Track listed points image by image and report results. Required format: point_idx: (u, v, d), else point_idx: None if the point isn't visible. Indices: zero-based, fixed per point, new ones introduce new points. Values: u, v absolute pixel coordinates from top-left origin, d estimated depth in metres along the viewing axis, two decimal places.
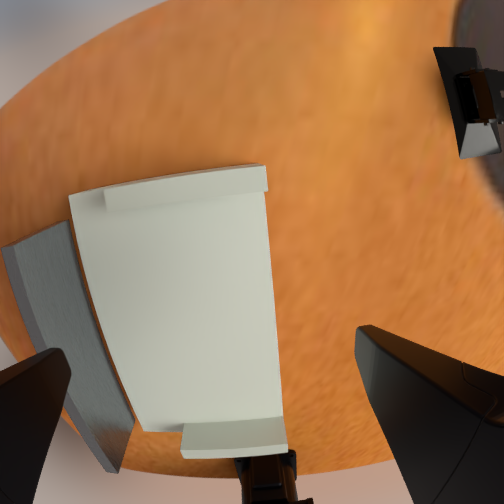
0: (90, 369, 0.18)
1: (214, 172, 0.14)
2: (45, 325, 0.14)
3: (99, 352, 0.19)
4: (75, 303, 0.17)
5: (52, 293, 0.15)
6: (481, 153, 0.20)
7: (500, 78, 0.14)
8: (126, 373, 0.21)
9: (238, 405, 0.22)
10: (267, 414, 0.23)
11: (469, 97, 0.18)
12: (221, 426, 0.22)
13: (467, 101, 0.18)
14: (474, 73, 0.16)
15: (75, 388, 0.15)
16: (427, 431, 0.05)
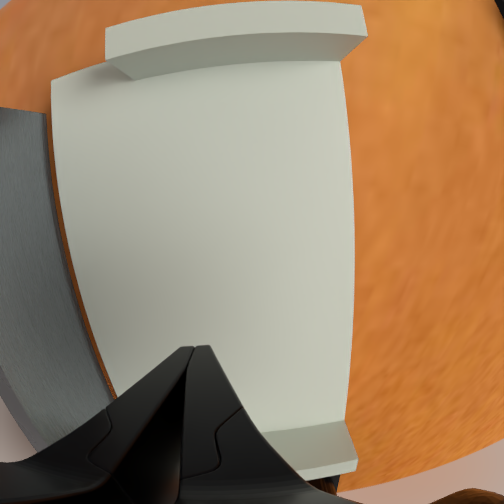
0: (55, 348, 0.10)
1: (288, 2, 0.07)
2: None
3: (73, 324, 0.12)
4: (36, 235, 0.10)
5: None
6: None
7: None
8: (115, 360, 0.14)
9: (284, 407, 0.15)
10: (323, 419, 0.15)
11: None
12: None
13: None
14: None
15: (23, 376, 0.08)
16: None
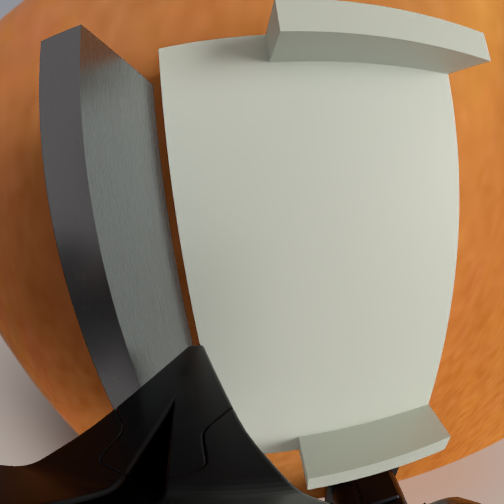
0: None
1: (438, 19, 0.07)
2: (110, 240, 0.06)
3: (184, 331, 0.12)
4: (156, 225, 0.10)
5: (127, 179, 0.07)
6: None
7: None
8: (221, 367, 0.13)
9: (384, 396, 0.14)
10: (412, 404, 0.15)
11: None
12: (355, 432, 0.14)
13: None
14: None
15: None
16: None
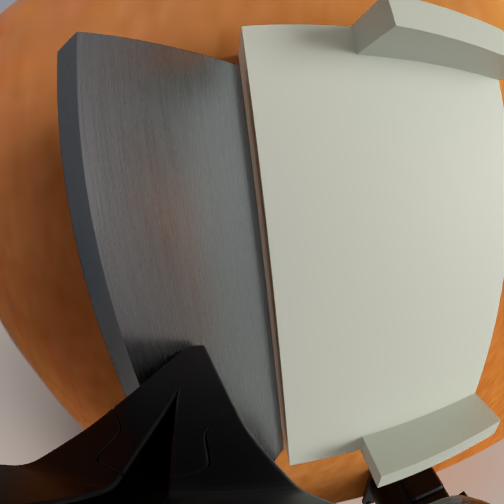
0: (226, 363, 0.10)
1: None
2: (120, 237, 0.06)
3: (257, 333, 0.11)
4: (224, 218, 0.09)
5: (166, 172, 0.07)
6: None
7: None
8: (299, 372, 0.12)
9: (441, 388, 0.14)
10: (462, 394, 0.14)
11: None
12: (415, 425, 0.14)
13: None
14: None
15: None
16: None
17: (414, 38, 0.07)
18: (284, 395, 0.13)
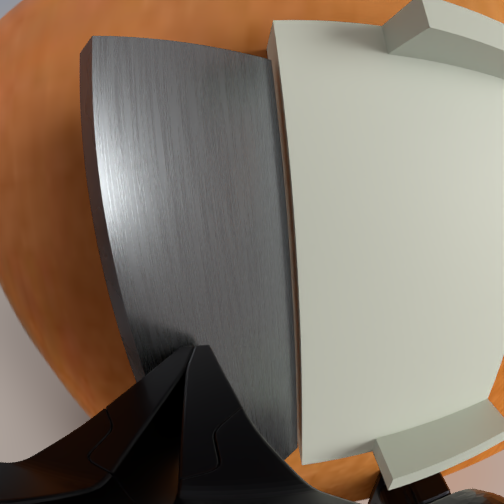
0: (239, 356, 0.10)
1: None
2: (131, 228, 0.07)
3: (277, 329, 0.11)
4: (248, 213, 0.09)
5: (183, 166, 0.07)
6: None
7: None
8: (318, 372, 0.12)
9: (455, 392, 0.13)
10: (475, 399, 0.14)
11: None
12: (428, 429, 0.13)
13: None
14: None
15: None
16: None
17: (446, 41, 0.07)
18: (302, 394, 0.12)
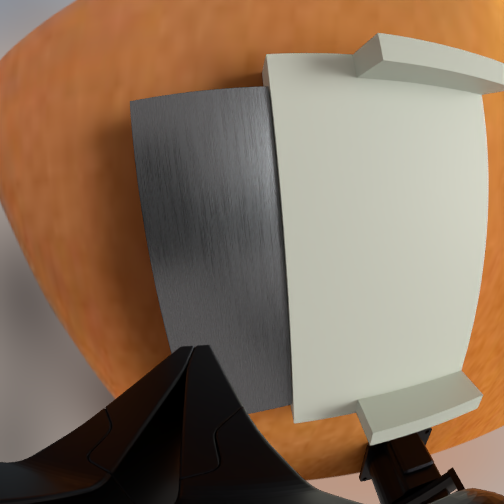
0: (227, 297, 0.15)
1: (482, 57, 0.09)
2: (154, 203, 0.13)
3: (267, 289, 0.15)
4: (239, 200, 0.14)
5: (188, 170, 0.13)
6: None
7: None
8: (304, 332, 0.15)
9: (428, 360, 0.17)
10: (449, 370, 0.17)
11: None
12: (405, 393, 0.17)
13: None
14: None
15: (175, 299, 0.14)
16: None
17: (400, 67, 0.10)
18: (291, 353, 0.16)
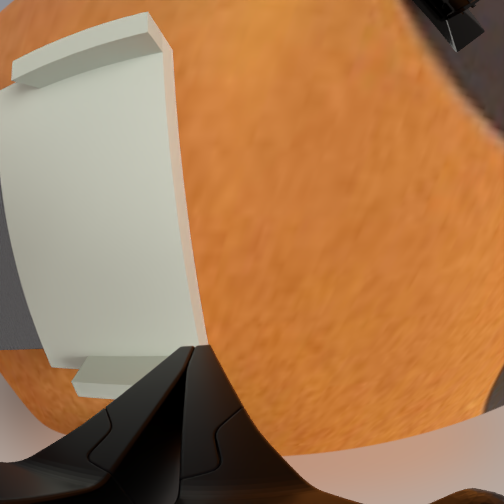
0: None
1: (100, 25, 0.11)
2: None
3: (4, 248, 0.16)
4: None
5: None
6: None
7: None
8: (28, 283, 0.17)
9: (143, 331, 0.18)
10: None
11: None
12: (125, 360, 0.18)
13: (434, 0, 0.15)
14: None
15: None
16: None
17: (33, 75, 0.12)
18: (27, 300, 0.17)
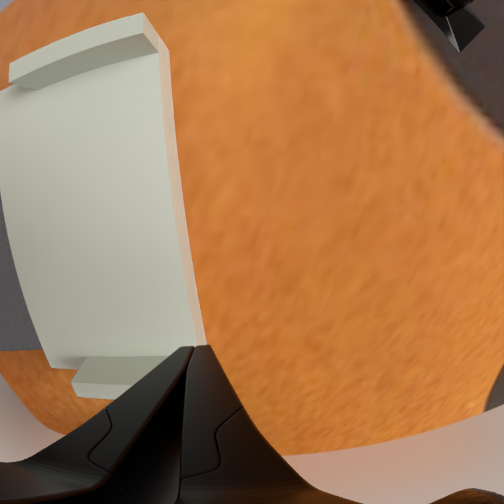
0: None
1: (96, 26, 0.11)
2: None
3: (3, 250, 0.16)
4: None
5: None
6: (471, 37, 0.16)
7: None
8: (27, 284, 0.17)
9: (142, 331, 0.18)
10: None
11: None
12: (124, 360, 0.18)
13: None
14: None
15: None
16: None
17: (30, 77, 0.12)
18: (26, 301, 0.17)
